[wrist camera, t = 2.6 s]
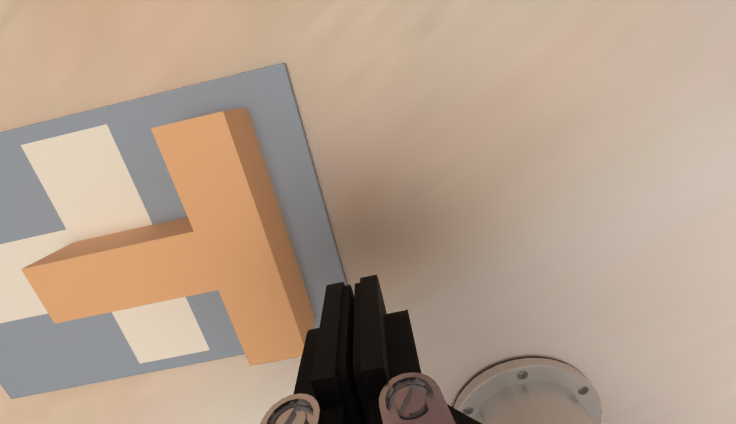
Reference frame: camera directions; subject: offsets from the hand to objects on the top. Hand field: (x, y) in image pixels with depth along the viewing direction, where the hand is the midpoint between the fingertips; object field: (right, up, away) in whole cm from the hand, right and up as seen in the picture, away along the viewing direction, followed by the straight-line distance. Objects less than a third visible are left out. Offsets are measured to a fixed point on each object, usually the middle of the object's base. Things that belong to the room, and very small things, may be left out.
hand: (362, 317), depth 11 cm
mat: (-17, 0, +14) cm, 23 cm away
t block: (-13, +1, +13) cm, 19 cm away
